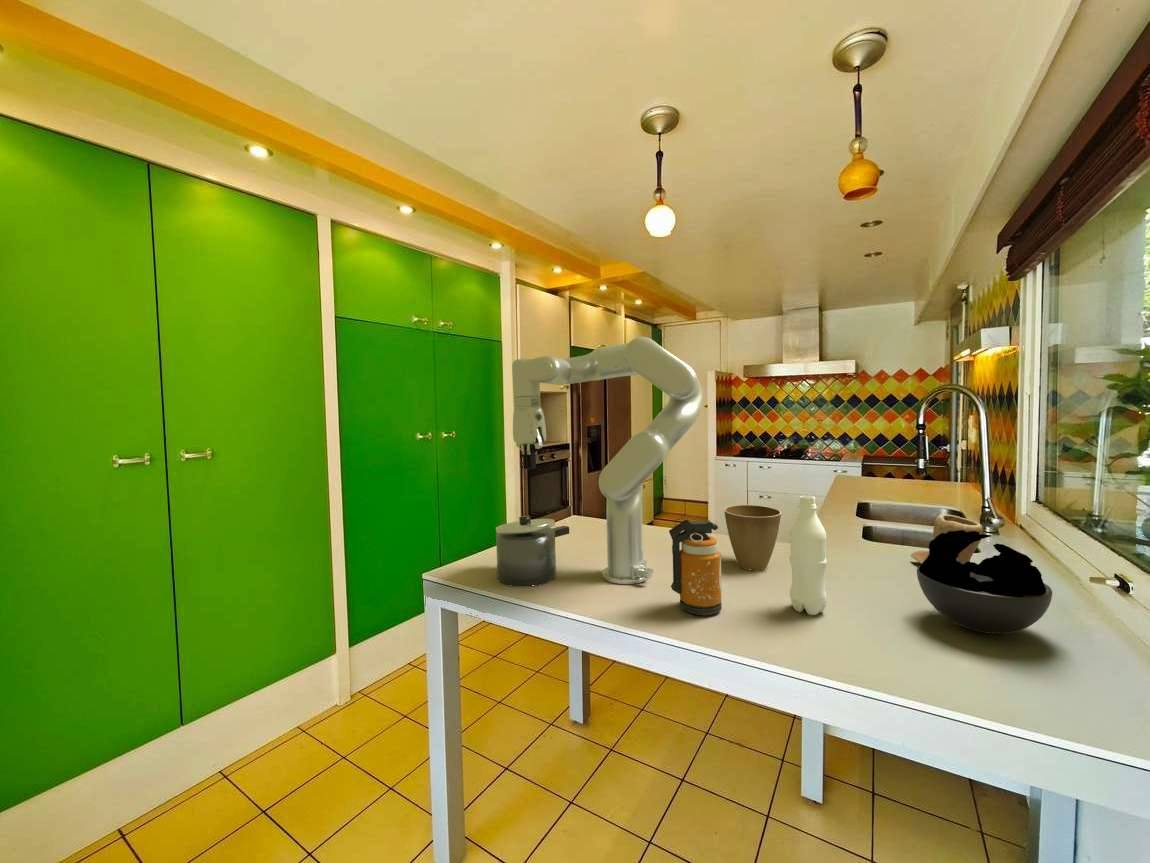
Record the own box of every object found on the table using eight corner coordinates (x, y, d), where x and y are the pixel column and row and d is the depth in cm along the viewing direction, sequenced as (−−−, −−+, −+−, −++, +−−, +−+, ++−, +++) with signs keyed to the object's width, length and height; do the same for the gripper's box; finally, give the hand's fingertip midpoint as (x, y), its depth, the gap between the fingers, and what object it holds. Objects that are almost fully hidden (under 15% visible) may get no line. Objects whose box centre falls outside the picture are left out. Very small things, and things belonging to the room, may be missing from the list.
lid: (485, 532, 129) (483, 521, 129) (531, 522, 140) (530, 511, 140) (519, 535, 117) (517, 522, 117) (566, 523, 128) (565, 512, 128)
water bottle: (812, 620, 98) (811, 501, 97) (782, 607, 104) (781, 496, 103) (834, 612, 101) (833, 497, 100) (804, 601, 108) (803, 492, 106)
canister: (726, 617, 100) (725, 524, 100) (674, 618, 101) (673, 525, 100) (715, 600, 109) (714, 515, 108) (667, 601, 110) (665, 516, 109)
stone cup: (993, 583, 115) (994, 522, 114) (937, 581, 118) (938, 521, 117) (958, 563, 130) (958, 509, 129) (909, 561, 132) (909, 509, 132)
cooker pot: (586, 569, 133) (585, 527, 133) (520, 591, 118) (519, 544, 117) (546, 556, 146) (545, 518, 146) (483, 575, 131) (481, 532, 130)
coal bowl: (919, 599, 107) (920, 517, 106) (1043, 623, 94) (1045, 530, 93) (912, 633, 91) (913, 537, 90) (1060, 666, 78) (1061, 555, 78)
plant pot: (713, 563, 135) (712, 508, 135) (752, 555, 142) (751, 502, 141) (753, 579, 122) (752, 518, 121) (793, 570, 128) (793, 511, 127)
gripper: (554, 402, 129) (557, 468, 130) (522, 404, 140) (524, 465, 141) (533, 402, 124) (536, 471, 125) (500, 404, 135) (503, 468, 135)
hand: (530, 468), depth 133 cm, fingers closed
